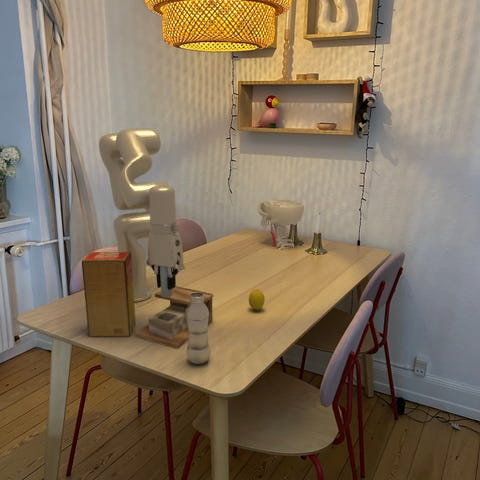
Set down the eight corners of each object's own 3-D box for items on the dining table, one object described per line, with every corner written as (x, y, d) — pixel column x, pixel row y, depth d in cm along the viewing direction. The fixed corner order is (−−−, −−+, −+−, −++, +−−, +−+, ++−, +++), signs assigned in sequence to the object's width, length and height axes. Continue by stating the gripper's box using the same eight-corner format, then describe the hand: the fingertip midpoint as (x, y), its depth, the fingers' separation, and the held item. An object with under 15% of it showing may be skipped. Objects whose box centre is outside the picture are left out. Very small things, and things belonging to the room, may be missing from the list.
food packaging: (136, 323, 151) (132, 250, 144) (130, 337, 142) (125, 260, 135) (95, 323, 151) (89, 250, 144) (87, 337, 141) (79, 260, 135)
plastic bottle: (198, 370, 124) (196, 301, 119) (181, 361, 129) (179, 294, 123) (215, 360, 129) (214, 294, 123) (198, 352, 133) (197, 288, 128)
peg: (165, 292, 142) (163, 255, 139) (174, 294, 140) (172, 256, 137) (159, 296, 139) (157, 258, 136) (167, 298, 137) (165, 259, 134)
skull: (307, 245, 237) (310, 202, 231) (293, 255, 222) (295, 208, 215) (264, 238, 249) (265, 197, 243) (248, 247, 233) (248, 203, 227)
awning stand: (171, 311, 159) (170, 285, 157) (213, 322, 152) (213, 294, 149) (134, 336, 142) (132, 306, 140) (179, 348, 135) (178, 317, 132)
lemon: (254, 305, 165) (255, 284, 163) (267, 309, 162) (267, 288, 159) (245, 310, 161) (245, 289, 159) (257, 315, 157) (258, 293, 155)
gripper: (194, 228, 134) (196, 287, 139) (149, 223, 141) (152, 279, 146) (179, 234, 127) (182, 296, 132) (133, 228, 135) (136, 287, 139)
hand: (166, 286), depth 139 cm, fingers closed on peg, 3 cm apart
